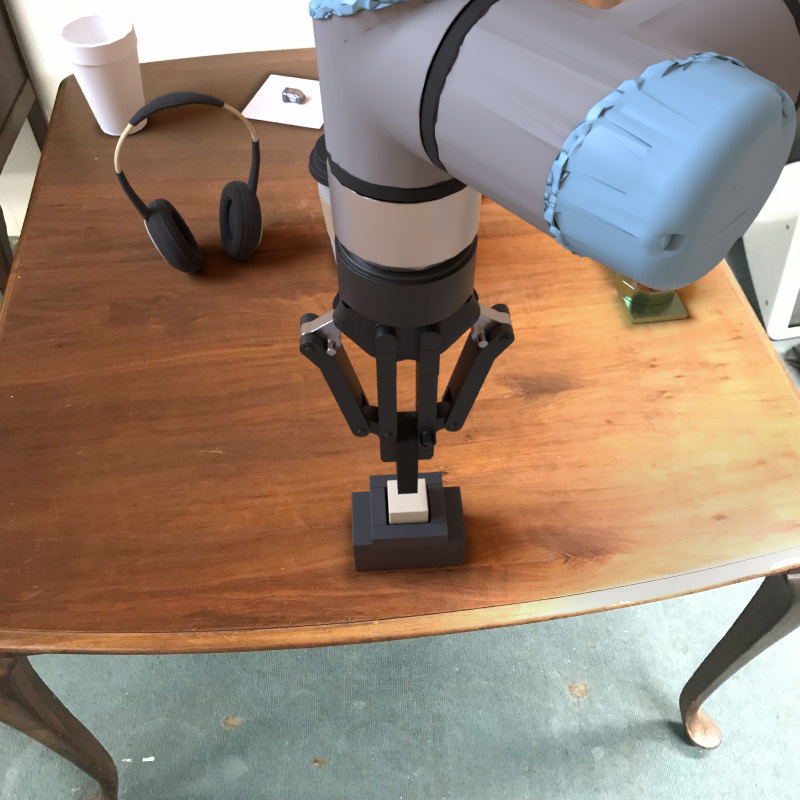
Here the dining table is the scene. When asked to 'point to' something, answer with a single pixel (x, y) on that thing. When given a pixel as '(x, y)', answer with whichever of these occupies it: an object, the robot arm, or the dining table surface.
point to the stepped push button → (407, 528)
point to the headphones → (236, 202)
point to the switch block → (647, 301)
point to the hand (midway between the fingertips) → (406, 478)
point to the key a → (407, 504)
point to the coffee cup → (322, 183)
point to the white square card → (287, 102)
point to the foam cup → (105, 67)
